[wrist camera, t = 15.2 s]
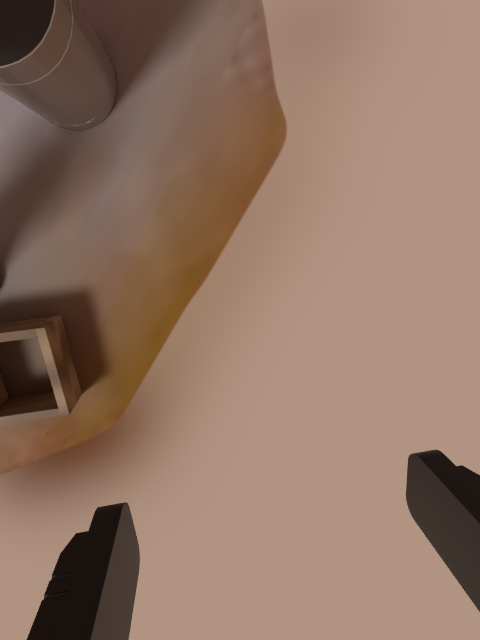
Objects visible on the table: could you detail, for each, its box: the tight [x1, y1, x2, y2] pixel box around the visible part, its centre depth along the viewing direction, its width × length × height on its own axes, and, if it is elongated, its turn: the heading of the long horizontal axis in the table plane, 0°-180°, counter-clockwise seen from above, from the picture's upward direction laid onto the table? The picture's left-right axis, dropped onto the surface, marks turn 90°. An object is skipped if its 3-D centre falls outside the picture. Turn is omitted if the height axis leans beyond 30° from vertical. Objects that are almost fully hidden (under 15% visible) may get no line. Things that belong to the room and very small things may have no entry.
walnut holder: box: [0, 315, 82, 425], centre depth 42 cm, size 11×10×5 cm
